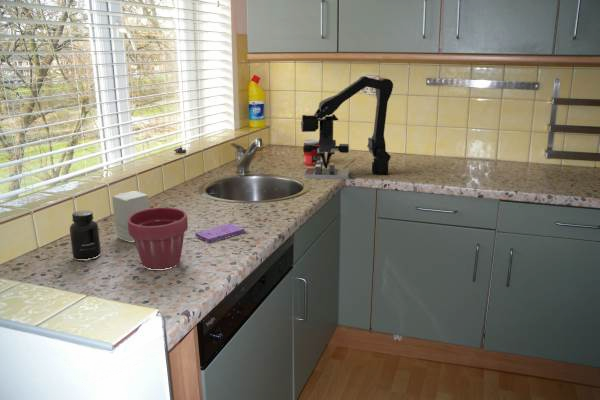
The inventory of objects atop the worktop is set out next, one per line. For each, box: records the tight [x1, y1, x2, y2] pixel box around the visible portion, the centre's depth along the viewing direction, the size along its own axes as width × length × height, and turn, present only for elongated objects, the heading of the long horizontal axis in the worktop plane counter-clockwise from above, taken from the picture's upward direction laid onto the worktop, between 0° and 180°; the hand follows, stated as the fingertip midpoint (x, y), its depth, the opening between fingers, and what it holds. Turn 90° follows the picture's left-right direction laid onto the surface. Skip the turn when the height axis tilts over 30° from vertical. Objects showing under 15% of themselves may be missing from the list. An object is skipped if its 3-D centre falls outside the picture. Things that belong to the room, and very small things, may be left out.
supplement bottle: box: [69, 210, 102, 259], centre depth 131 cm, size 7×7×12 cm
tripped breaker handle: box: [328, 161, 336, 172], centre depth 214 cm, size 2×2×4 cm
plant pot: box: [128, 206, 189, 269], centre depth 126 cm, size 14×14×13 cm
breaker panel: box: [304, 159, 350, 180], centre depth 214 cm, size 18×11×5 cm, turn 83°
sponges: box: [194, 223, 245, 243], centre depth 148 cm, size 7×13×2 cm, turn 133°
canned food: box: [303, 138, 322, 167], centre depth 233 cm, size 8×8×11 cm
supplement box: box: [111, 190, 150, 241], centre depth 144 cm, size 7×7×13 cm
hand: (326, 168), depth 214 cm, fingers closed
